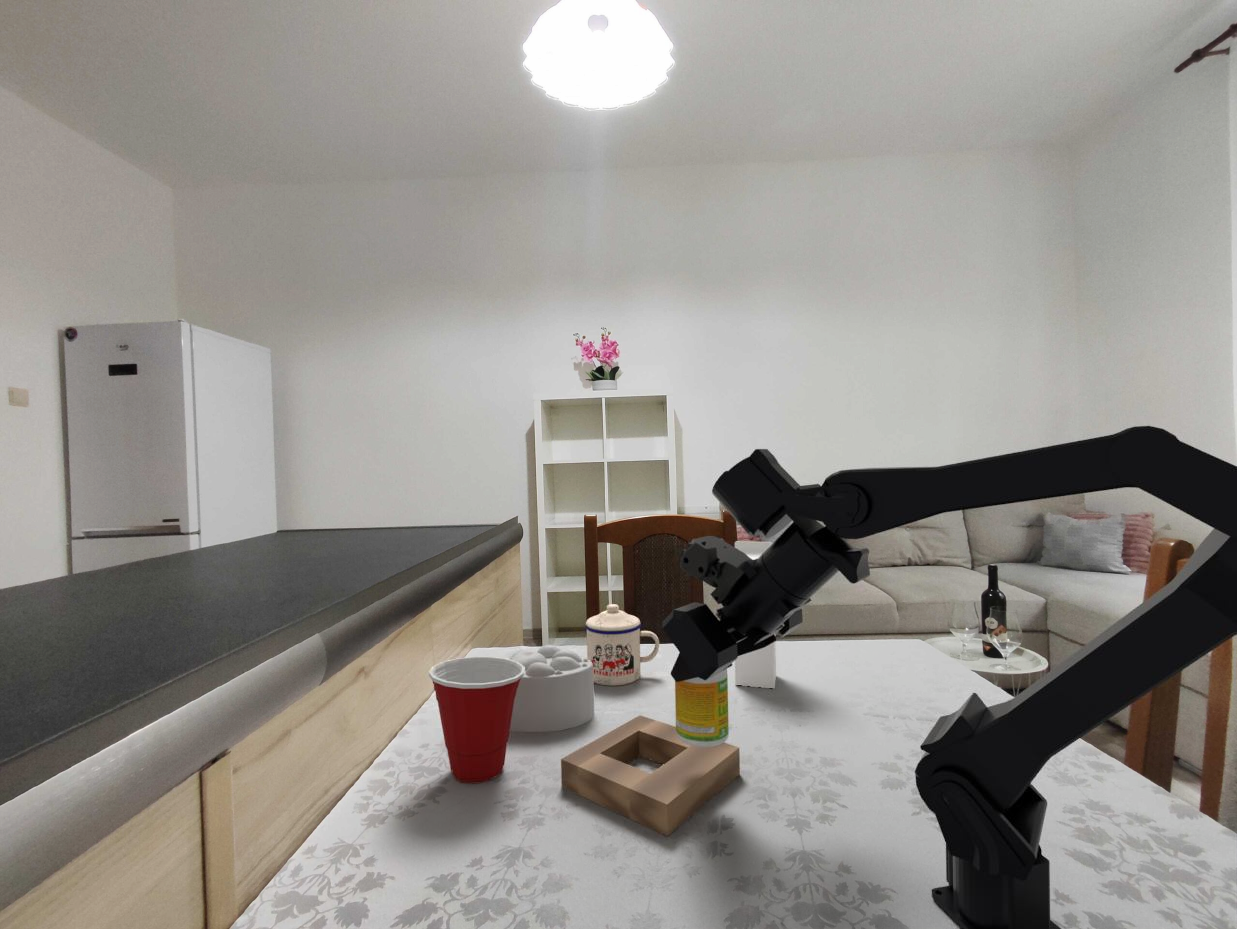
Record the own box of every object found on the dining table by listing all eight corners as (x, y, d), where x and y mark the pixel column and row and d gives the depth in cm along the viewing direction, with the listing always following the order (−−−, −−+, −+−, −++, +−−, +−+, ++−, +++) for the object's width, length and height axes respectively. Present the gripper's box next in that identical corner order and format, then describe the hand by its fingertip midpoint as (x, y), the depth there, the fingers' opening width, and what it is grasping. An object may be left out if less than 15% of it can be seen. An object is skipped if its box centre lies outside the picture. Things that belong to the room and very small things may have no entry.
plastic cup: (546, 770, 69) (543, 666, 69) (458, 808, 62) (455, 691, 62) (497, 738, 77) (495, 645, 77) (415, 768, 70) (412, 665, 70)
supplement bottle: (728, 750, 59) (726, 651, 59) (673, 746, 60) (671, 649, 60) (729, 726, 64) (727, 635, 64) (678, 723, 65) (676, 633, 65)
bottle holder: (739, 774, 67) (739, 747, 67) (667, 836, 56) (667, 804, 56) (640, 738, 76) (639, 715, 76) (561, 786, 65) (561, 758, 65)
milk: (738, 672, 99) (735, 538, 99) (776, 675, 97) (773, 539, 97) (734, 686, 93) (731, 543, 93) (775, 689, 91) (772, 544, 91)
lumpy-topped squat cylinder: (510, 700, 89) (508, 642, 89) (597, 700, 89) (596, 641, 89) (491, 732, 79) (490, 666, 79) (590, 732, 78) (589, 666, 78)
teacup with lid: (584, 687, 94) (582, 612, 94) (588, 667, 103) (586, 599, 103) (661, 686, 93) (660, 611, 93) (658, 666, 103) (657, 598, 102)
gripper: (772, 504, 67) (690, 592, 74) (677, 519, 52) (587, 627, 59) (846, 583, 62) (751, 669, 69) (763, 624, 47) (653, 727, 54)
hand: (689, 669), depth 63 cm, fingers closed on supplement bottle, 5 cm apart
